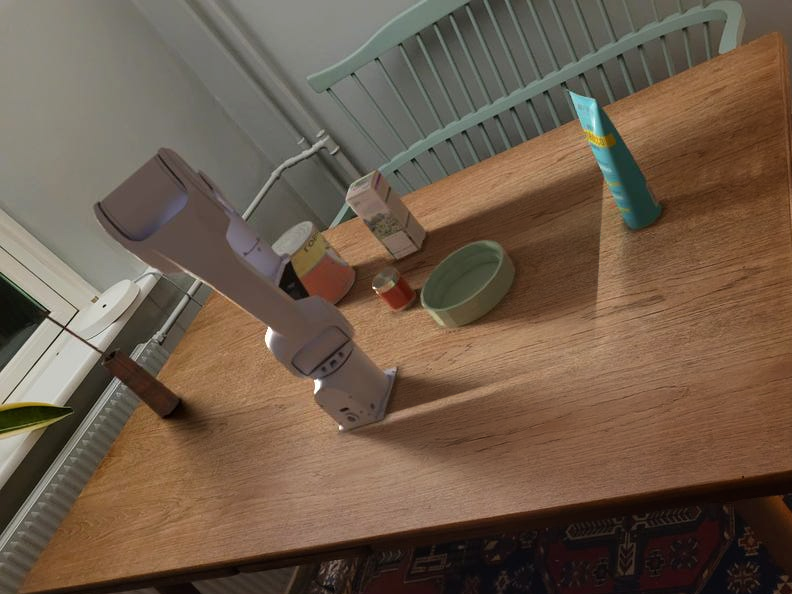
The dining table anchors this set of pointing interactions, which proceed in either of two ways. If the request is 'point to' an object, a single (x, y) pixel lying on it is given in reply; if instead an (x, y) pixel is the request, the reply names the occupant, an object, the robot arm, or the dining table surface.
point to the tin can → (394, 289)
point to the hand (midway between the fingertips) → (308, 313)
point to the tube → (617, 165)
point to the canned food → (316, 262)
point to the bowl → (468, 283)
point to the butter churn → (134, 378)
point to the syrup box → (385, 215)
